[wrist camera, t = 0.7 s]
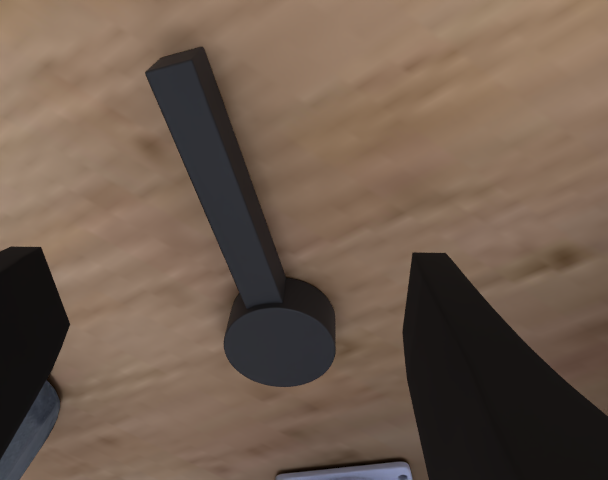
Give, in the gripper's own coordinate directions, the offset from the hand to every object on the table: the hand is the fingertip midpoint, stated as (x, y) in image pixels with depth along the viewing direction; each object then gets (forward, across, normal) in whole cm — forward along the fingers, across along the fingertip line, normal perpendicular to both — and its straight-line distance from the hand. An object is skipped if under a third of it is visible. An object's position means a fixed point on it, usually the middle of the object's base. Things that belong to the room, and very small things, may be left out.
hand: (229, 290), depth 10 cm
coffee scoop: (+10, +1, +6) cm, 11 cm away
